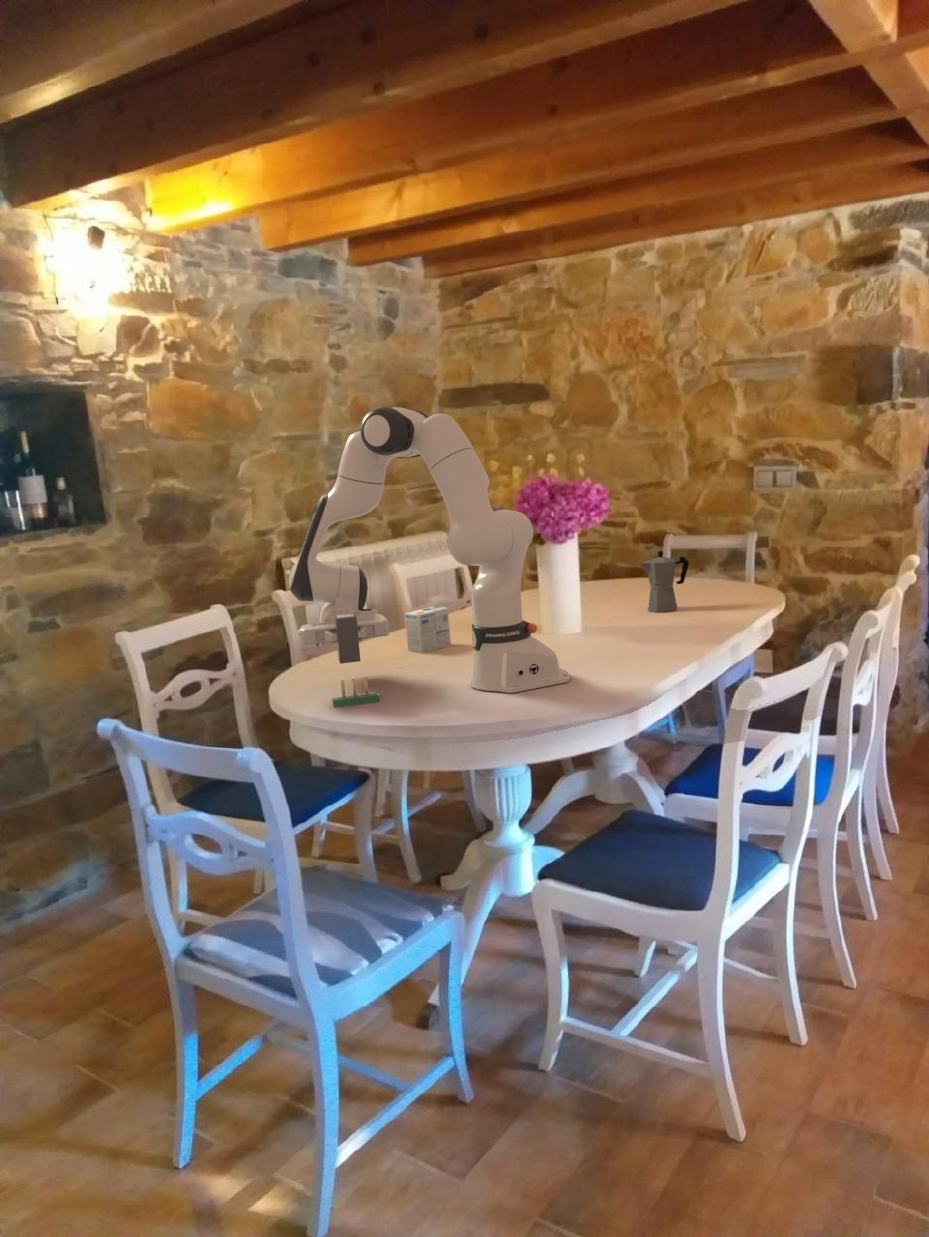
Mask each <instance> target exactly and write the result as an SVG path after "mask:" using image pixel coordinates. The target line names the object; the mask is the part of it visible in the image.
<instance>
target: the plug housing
mask: <svg viewBox="0 0 929 1237" xmlns="http://www.w3.org/2000/svg"><path fill="white" fill-rule="evenodd" d="M334 618H335V629H336V633H337V639H338V642H337V645H336V646H337V647H336V648H337V658H338V662H339V664H349V663H357V662H361V654H360V653H361V652H360V640H359V639H358V628H357V617H356V616H355V614H345V615H336V616H334Z"/></svg>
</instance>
